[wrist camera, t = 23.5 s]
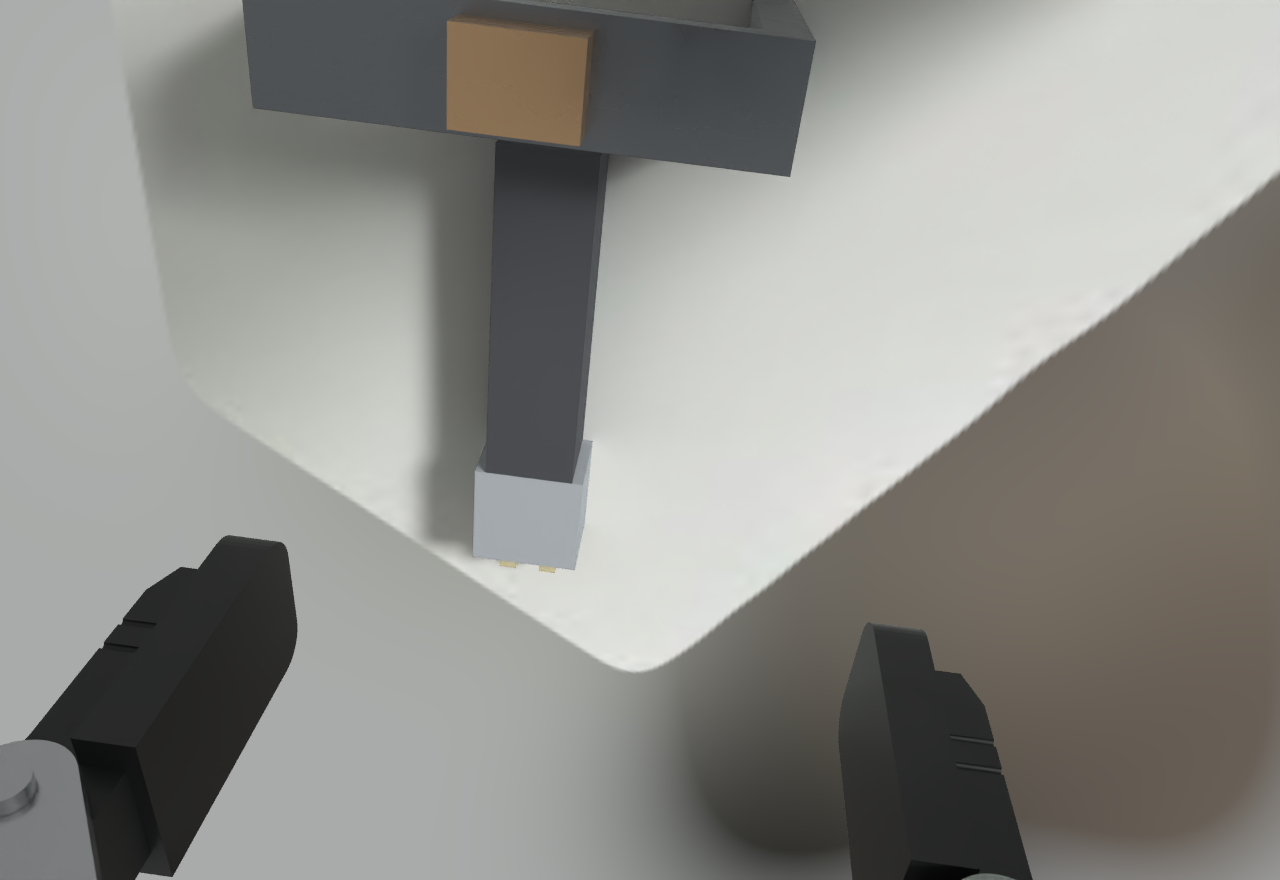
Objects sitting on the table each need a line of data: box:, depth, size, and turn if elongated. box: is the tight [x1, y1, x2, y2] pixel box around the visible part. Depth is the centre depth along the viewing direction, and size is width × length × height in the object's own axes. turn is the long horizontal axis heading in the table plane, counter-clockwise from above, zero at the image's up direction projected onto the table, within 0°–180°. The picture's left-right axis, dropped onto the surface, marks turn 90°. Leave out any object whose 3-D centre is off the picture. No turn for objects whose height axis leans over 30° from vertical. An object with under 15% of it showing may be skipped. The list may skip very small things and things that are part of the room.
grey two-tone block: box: [473, 140, 609, 573], centre depth 43 cm, size 5×22×4 cm, turn 174°
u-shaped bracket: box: [242, 0, 816, 177], centre depth 33 cm, size 17×4×12 cm, turn 84°
